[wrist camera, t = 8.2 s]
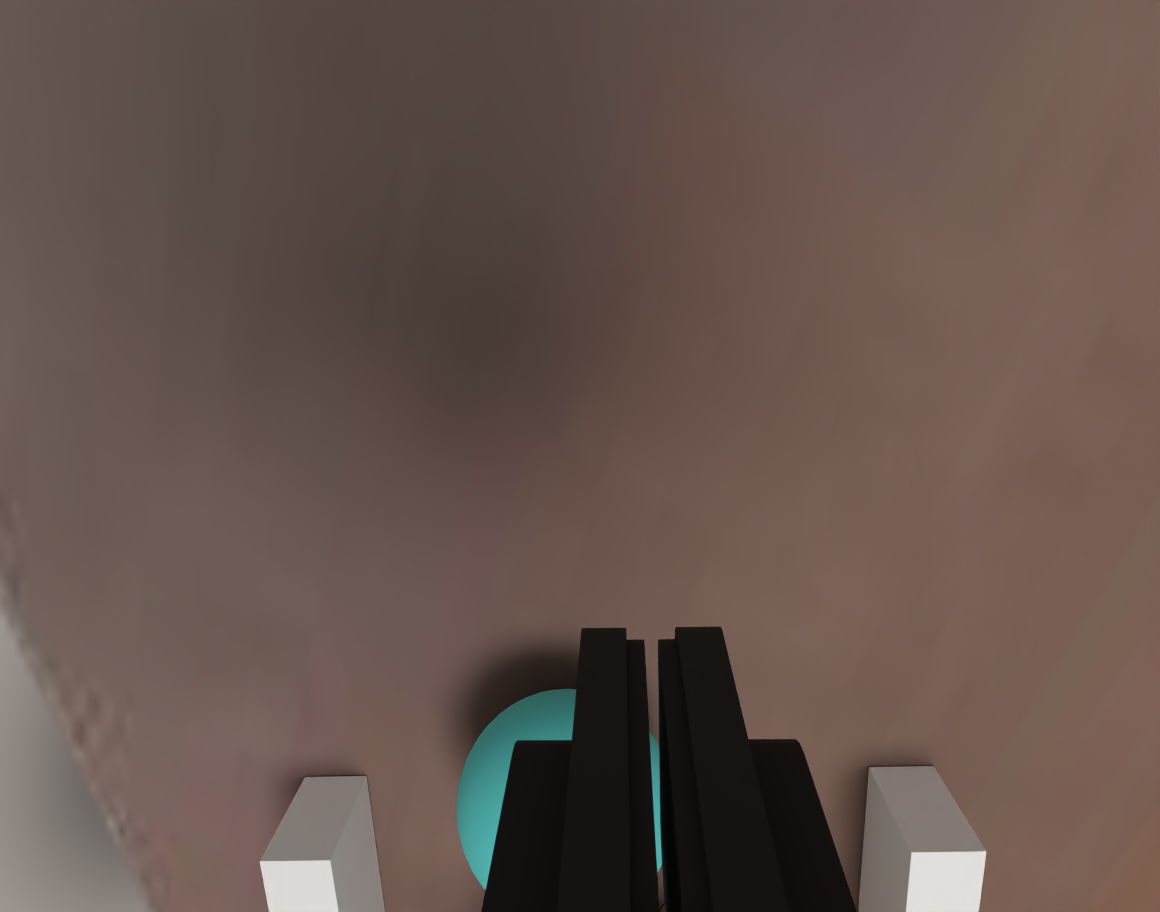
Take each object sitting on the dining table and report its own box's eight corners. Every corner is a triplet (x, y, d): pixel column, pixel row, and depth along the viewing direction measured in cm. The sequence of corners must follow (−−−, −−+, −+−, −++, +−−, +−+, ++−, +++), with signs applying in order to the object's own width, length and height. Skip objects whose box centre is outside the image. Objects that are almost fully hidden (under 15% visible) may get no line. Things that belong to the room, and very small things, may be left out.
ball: (649, 997, 20) (696, 787, 25) (635, 894, 17) (693, 668, 21) (444, 927, 22) (522, 743, 27) (391, 821, 19) (492, 628, 23)
